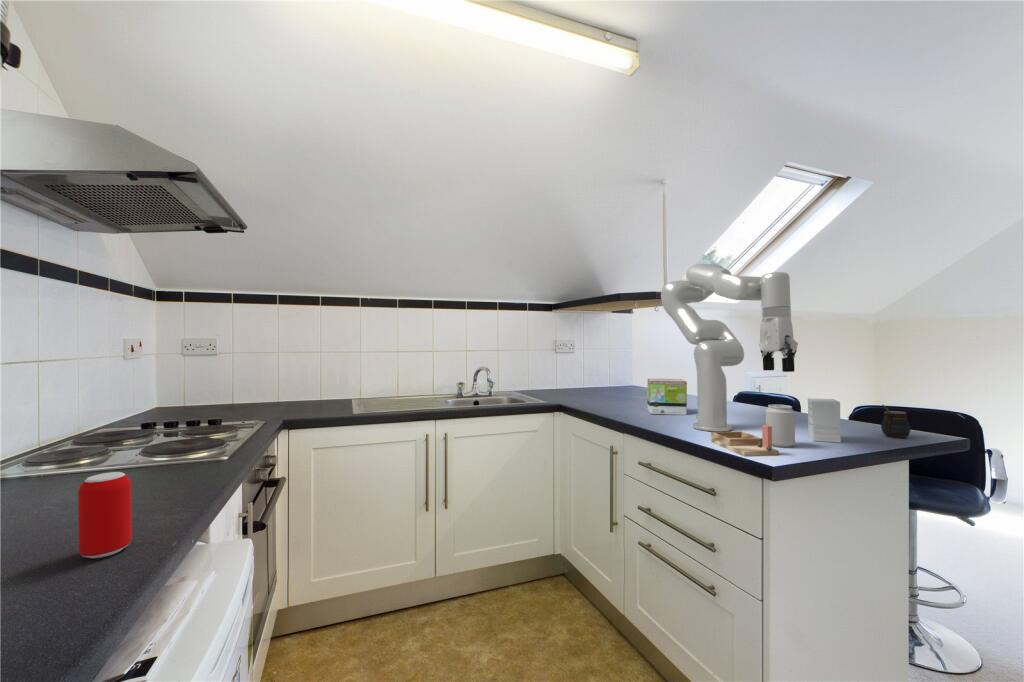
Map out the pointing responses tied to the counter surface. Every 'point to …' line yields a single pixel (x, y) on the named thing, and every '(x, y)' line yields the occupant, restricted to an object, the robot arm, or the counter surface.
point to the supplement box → (824, 420)
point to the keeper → (766, 436)
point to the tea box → (667, 396)
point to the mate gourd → (895, 424)
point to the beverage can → (104, 514)
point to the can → (781, 425)
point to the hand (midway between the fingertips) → (778, 370)
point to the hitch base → (742, 443)
